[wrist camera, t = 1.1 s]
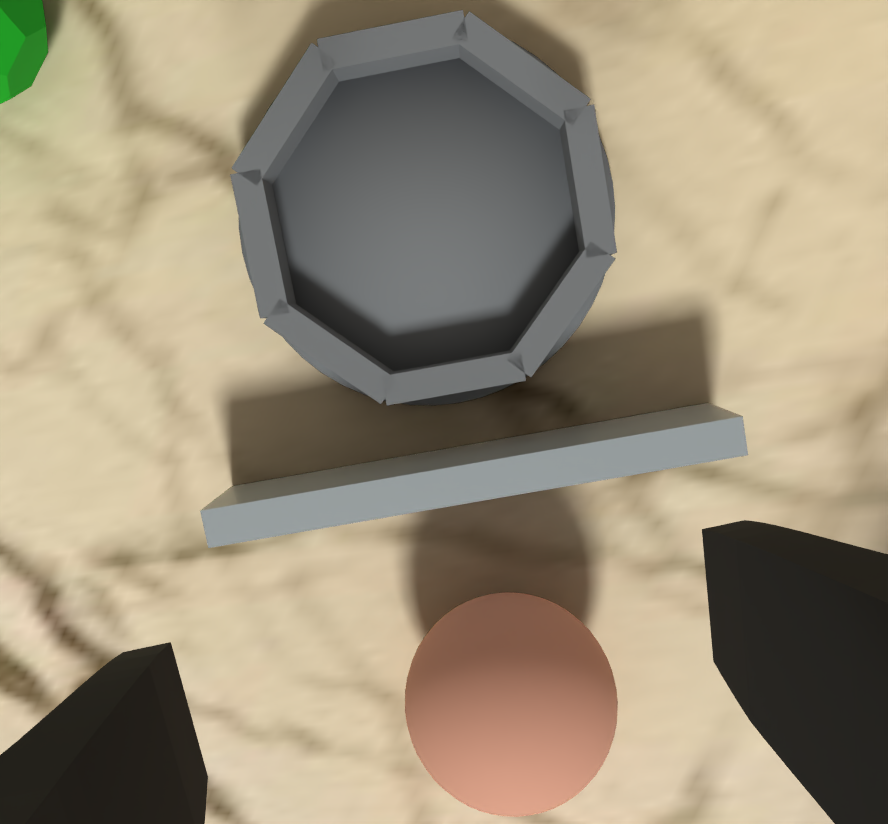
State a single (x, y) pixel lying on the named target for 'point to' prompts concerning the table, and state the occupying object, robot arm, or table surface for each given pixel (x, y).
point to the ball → (511, 704)
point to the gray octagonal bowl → (425, 210)
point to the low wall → (474, 473)
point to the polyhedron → (21, 45)
